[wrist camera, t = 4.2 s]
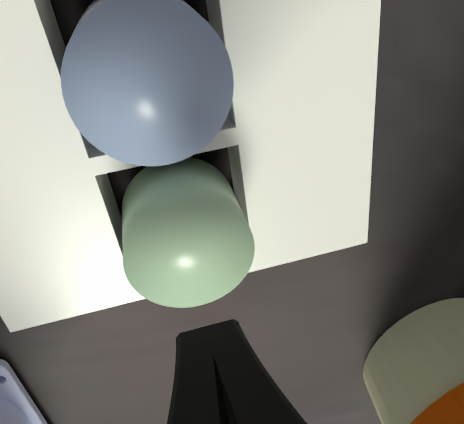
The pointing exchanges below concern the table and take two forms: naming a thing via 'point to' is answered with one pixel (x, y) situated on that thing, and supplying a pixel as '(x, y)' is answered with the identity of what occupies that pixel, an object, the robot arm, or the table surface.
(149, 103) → the slate button
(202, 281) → the sage button
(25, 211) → the panel
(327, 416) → the table surface
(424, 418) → the reusable coffee cup
